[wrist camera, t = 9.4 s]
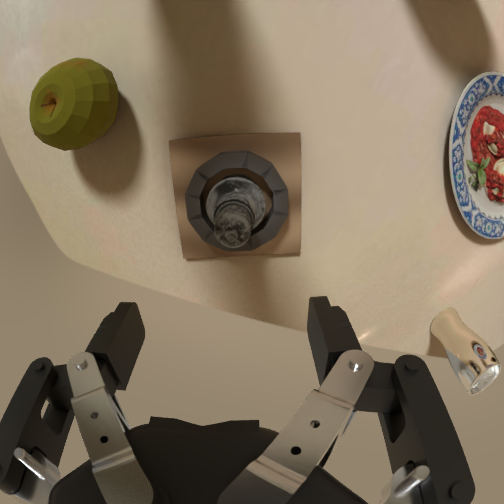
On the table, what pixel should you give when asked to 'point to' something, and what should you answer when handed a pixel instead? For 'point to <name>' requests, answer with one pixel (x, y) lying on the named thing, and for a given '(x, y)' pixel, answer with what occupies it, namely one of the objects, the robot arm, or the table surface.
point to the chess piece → (235, 209)
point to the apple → (74, 104)
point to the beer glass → (465, 351)
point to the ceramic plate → (479, 154)
